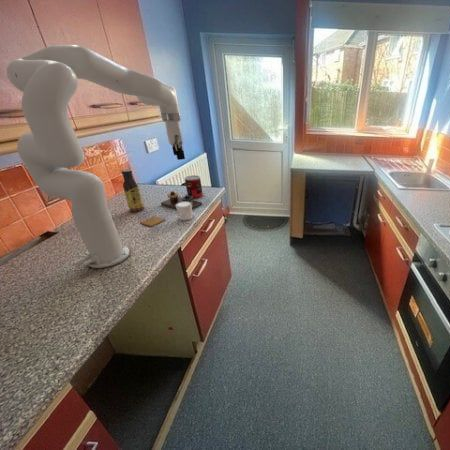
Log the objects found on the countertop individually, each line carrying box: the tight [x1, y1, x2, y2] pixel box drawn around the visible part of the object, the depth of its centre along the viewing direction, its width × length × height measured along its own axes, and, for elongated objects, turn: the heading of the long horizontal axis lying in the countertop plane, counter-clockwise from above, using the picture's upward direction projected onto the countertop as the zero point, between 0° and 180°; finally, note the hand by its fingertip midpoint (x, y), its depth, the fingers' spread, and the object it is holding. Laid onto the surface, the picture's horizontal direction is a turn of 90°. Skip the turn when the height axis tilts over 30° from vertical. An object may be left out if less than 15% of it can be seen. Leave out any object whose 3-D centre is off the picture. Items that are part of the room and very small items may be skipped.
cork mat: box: [140, 216, 165, 227], centre depth 114 cm, size 7×7×1 cm
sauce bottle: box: [121, 169, 145, 213], centre depth 120 cm, size 6×6×20 cm
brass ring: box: [167, 192, 179, 199], centre depth 131 cm, size 5×5×1 cm
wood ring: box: [181, 196, 194, 202], centre depth 127 cm, size 5×5×1 cm
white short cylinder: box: [175, 201, 193, 221], centre depth 117 cm, size 7×7×7 cm
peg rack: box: [160, 190, 203, 211], centre depth 130 cm, size 10×18×6 cm, turn 67°
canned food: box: [184, 174, 204, 199], centre depth 140 cm, size 8×8×11 cm
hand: (179, 156), depth 117 cm, fingers open, 9 cm apart
